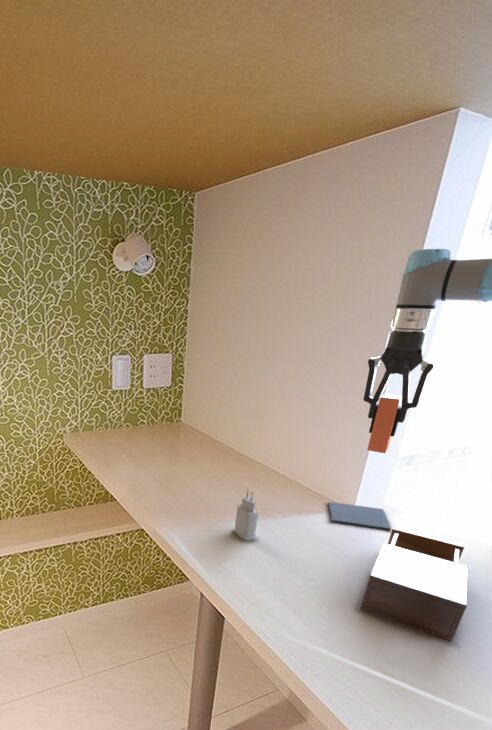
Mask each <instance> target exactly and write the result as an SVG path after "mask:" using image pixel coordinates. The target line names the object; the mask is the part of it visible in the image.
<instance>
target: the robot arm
mask: <svg viewBox="0 0 492 730" xmlns="http://www.w3.org/2000/svg"><path fill="white" fill-rule="evenodd" d="M405 265H406V266H405V269H404V272H403V273H402V279H401V283H400V289H399V292H398V297H397V302H396V305H395V308H394V312H393V316H392V321H391V324H390V327H391V329H392V330H390V331H389V333H388V337H387V341H386V345H385V349H384V351H383V352H382V353H381V355H380V356H377V357H371V358H370V359H368V360H367V365H368V374H367V379H366V385H365V390H364V395H363V401H364V402H366V403H368V404H369V405H370V406H369V410H368V414H367V418H368V419H371V423H370V426H369V430H368V433H369V434H371V433H372V429H373V425H374V421H375V417H376V413H377V409H378V405H379V402H380V398H381V396H382V395H383V393H384V391H385V389H386V387H387V384H388V382H389V381H390V378H391V376H392V375H395V374H396V375H397V374H398V375H402V389H401V390H402V391H401V396H402V400H401V406H400V407H399V408H398V409H397V413H396V417H395V420H394V424H393V428H392V431H391V435H390V436H391V437H395V435H396V433H397V429H398V425H399V423H401V424H402V423H404V421H405V420H406V416H407V413H408V410H409V409H412V408H414V409H415V408H417V407H418V405H419V404H420V401H421V400H420V399H421V396H422V394H423V392H424V388H425V385H426V382H427V379H428V376H429V374H430V372H431V371H432V370H433V368H434V367H435V362H430V361H428V360H426V359H425V358H424V350H425V346H426V342H427V340H428V339H427V338H428V335H429V334H428V332H427V330H429V329H430V328H431V325H432V321H433V317H434V315H435V309H436V307H437V303H438V302H468V303H470V302H472V303H477V304H488V303H492V258H481V259H480V258H479V259H461V260H460V259H451V250H450V249H447V248H424V249H417V250H413V252H411V253H410V254H409V255H408V259H407V262H406V264H405ZM381 362H382V364H383V367H384V369H385V372H384V374H383V376H382V379H381V381H380V383H379V385H378V387H377V389H376V391H375V393H374V395H373V396H372V394H373V390H374V383H375V380H376V375H377V367H379V366H380V363H381ZM419 365H421V367H420V371H421V374H420V377H419V379H418V384H417V386H416V390H415V392H414V396H413V398H412V401H410V390H411V389H410V387H411V373H412V371H414V370H415V369H416V368H417V367H418V366H419Z"/></svg>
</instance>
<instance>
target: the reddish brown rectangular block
mask: <svg viewBox="0 0 492 730" xmlns="http://www.w3.org/2000/svg"><path fill="white" fill-rule="evenodd" d="M378 404H379V405H378V409H377V413H376V417H375V421H374V425H373V429H372V433H370V438H369V442H368V446H367V451H368V452H373V453H374V452H375V453H381V454H386V453H387V451H388V449H389V447H390V444H391V441H392V436H390V435H391V431H392V428H393V424H394V420H395V417H396V413H397V409H398V408H399V407H401V404H402V395H397V394H388V393H384V394H382V395H381V397H380V399H379V401H378Z"/></svg>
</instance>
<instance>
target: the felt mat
mask: <svg viewBox="0 0 492 730" xmlns="http://www.w3.org/2000/svg"><path fill="white" fill-rule="evenodd" d="M328 508H329V514H330V520H331V523H338V524H344V525H352V526H359V527H366V528H371V529H379V530H386V531H391V530H392V528H391V525H390V523H389V520H388V518H387V516H386V514H385V511H384V509H383V508H377V507H370V506H363V505H356V504H349V503H341V502H333V501H328Z"/></svg>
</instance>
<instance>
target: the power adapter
mask: <svg viewBox="0 0 492 730" xmlns="http://www.w3.org/2000/svg"><path fill="white" fill-rule="evenodd" d="M249 490H250V489H249V488H247V490H246V491H247V492H246V495H243V496H242V499H241V503H239V504H237V506H236V507H237V508H236V516H235V523H234V533H235V534H236V535H238V537H240V538H241V539H242V540H244V541H253V540H255V538H256V533H257V532H256V531H257V525H258V518H259V511H258V509H256V503H257V500H255V499H254V498H253V497H254V491H251V496H249Z"/></svg>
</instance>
